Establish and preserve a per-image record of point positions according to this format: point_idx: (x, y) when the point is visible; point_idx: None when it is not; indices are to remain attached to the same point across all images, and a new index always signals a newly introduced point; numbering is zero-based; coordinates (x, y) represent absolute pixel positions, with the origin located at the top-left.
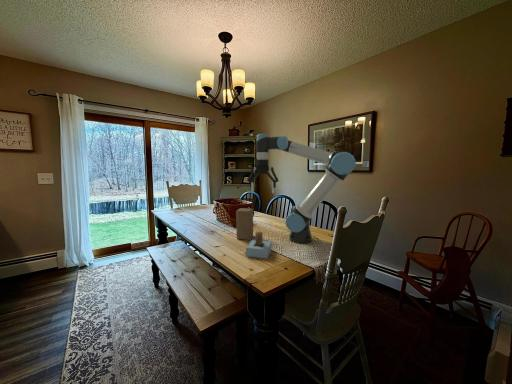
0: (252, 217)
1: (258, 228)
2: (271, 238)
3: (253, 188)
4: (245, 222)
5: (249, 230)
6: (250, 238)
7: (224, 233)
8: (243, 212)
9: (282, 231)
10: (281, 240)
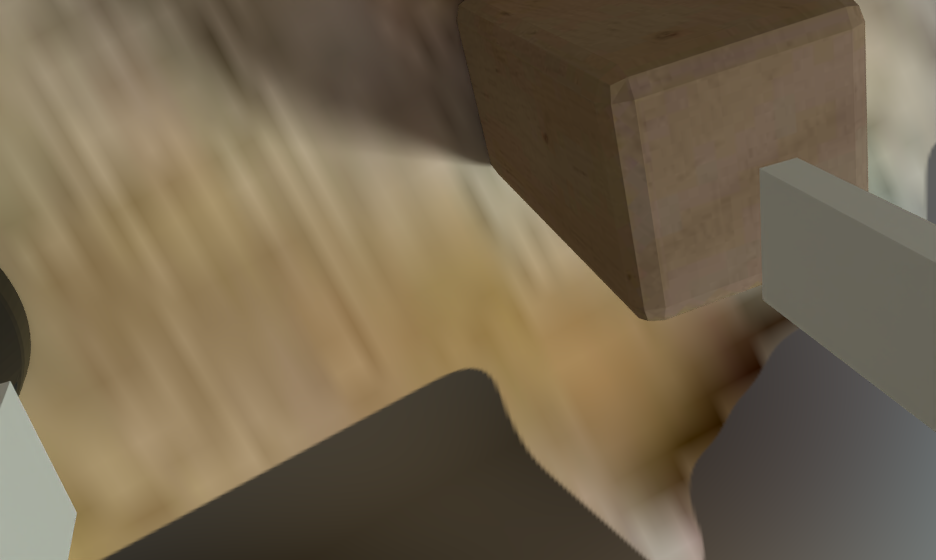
0: (571, 213)
1: (540, 411)
2: (233, 187)
3: (846, 350)
4: (599, 13)
5: (498, 18)
6: (457, 14)
7: None
8: (716, 34)
9: (228, 467)
10: (77, 184)
